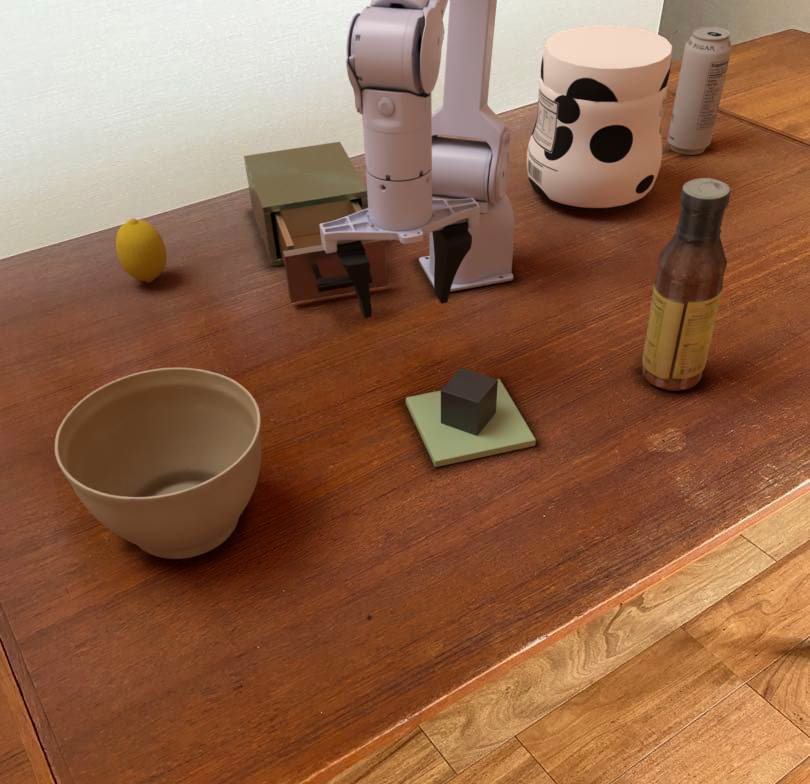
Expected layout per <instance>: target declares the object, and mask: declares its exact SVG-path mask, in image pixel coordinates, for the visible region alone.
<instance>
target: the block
mask: <svg viewBox="0 0 810 784" xmlns="http://www.w3.org/2000/svg"><path fill="white" fill-rule="evenodd" d="M497 379H498V378H494V377H491V376H488V375H484V374H481V373H479V372H477V371H472V370H470V369H466V368H463V367H460V368H459V369H458V370H457V371H456V372H455V374H454V375H453V376H452V377H451V378H450V379H449V380H448V381H447V382H446V384H444V386H443V387H442V388H441V390H440V391H441V423H442V424H445V425H447V426H450V427H453V428H456V429H459V430H462V431H464V432H467V433H470V434H473V435H476V436H478V434H479V433H480V432H481V431H482V429H483V428H484V427H485V426H486V424H487V423H488V422H489V421H490V419H491V418H492V417H493V416H494V414H495V413H496V403H497V387H498V380H497Z"/></svg>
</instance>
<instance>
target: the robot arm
mask: <svg viewBox="0 0 810 784" xmlns="http://www.w3.org/2000/svg"><path fill="white" fill-rule="evenodd" d="M448 2H449V5H448ZM497 4H498V0H371V1H370V4H369V6H368V5H367V6H365V7H363V9H362V10H361V12H357V13H355V14H354V15H353V16H352V18H351V20H350V23H349V28H348V31H347V37H346V59H345V64H346V65H345V66H346V72H347V77H348V81H349V83H350V85H351V87H352V90H353V96H354V105H355V106H354V107H355V109H356V113H359V114H360V115H361V118H362V119H361V120H362V133H363V136H362V137H363V149H364V165H365V177H366V178H365V179H366V189H367V196H368V208H367V209H364V210H361V211H359V212H356V213H353V214H351V215H348V216H345V217H343V218H340V219H337V220H334V221H330V222H326V223H321V224H320V234H321V243H322V245H323V248H324V250H325V252H326V253H327V254H328V253H334V252H336V253H337V255H338V257H339V259H340V261H341V263H342V265H343V267H344V268H345V270H346V272H347V273H348V275H349V276H350V278H351V280H352V282H353V285H354V288H355V290H356V291H355V293H356V297H357V302H358V305H359V309H360V311H361V313H362V315H363V318H364V319H369V318H372V317H373V307H372V301H371V291H370V289H369V272H370V262H369V260H368V259H367V257H366V255H365V249H364V247H363V245H362V244H363V243H369V242H375V241H380V240H385V241H399V243H400V244H402V245H411V244H417V243H420V242H423V241H424V236H425V235H427V234H428V240H429V241H428V243H429V245H428V248H429V250H428V251H429V252H428V254H429V255H426V256H421V257H419V258H418V262H419V265H420V266H421V268H422V270H423V271H424V273H425V275H426V277H427V278H428V280H429V281H430V284H431V285H432V287H433V289H434V294H435V296H436V298H437V299H438V301H439V303H440V304H441V305H442V304H447V303H448V301H449V299H450V293H451V292H456V291H457V292H458V291H461V290H468V289H473V288H478V287H483V286H489V285H494V284H500V283H501V284H502V283H507V282H511V281H513V280H514V274H513V273H512V271H513V270H512V269H513V255H514V254H513V253H514V242H515V241H514V240H515V216H514V210H513V206H512V203H511V200H510V198H509V197H508V195H507V194H506V191H507V188H508V184H509V178H510V170H511V151H510V148H511V146H510V145H511V132H510V129H509V127H508V125H507V124H506V122H505V121H503V120H502V119H501V118H500V117H499V116H498V114H496V113H495V112H494V111H493V110H492V109H491V107H490V106H489V105H488V103H489V102H488V101H489V91H490V90H489V89H490V79H491V69H492V58H493V48H494V37H495V27H496V26H495V25H496V16H497V15H496V14H497ZM448 6H449V7H448ZM447 7H448V23H447V37H446V51H445V64H444V65H445V67H444V79H443V80H444V82H443V95H442V105H441V106H440V107H439V108H437V109H436V110H435V111H433V110H432V109H433V108H432V92H434V89H435V88H436V85H437V81H438V78H439V74H440V69H441V67H440V66H441V63H442V62H441V61H442V50H443V43H444V40H445V25H444V17H445V13H446V10H447ZM432 111H433V112H432ZM455 137H456V138H455ZM464 138H466V139H464ZM474 139H477V140H474Z"/></svg>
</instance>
